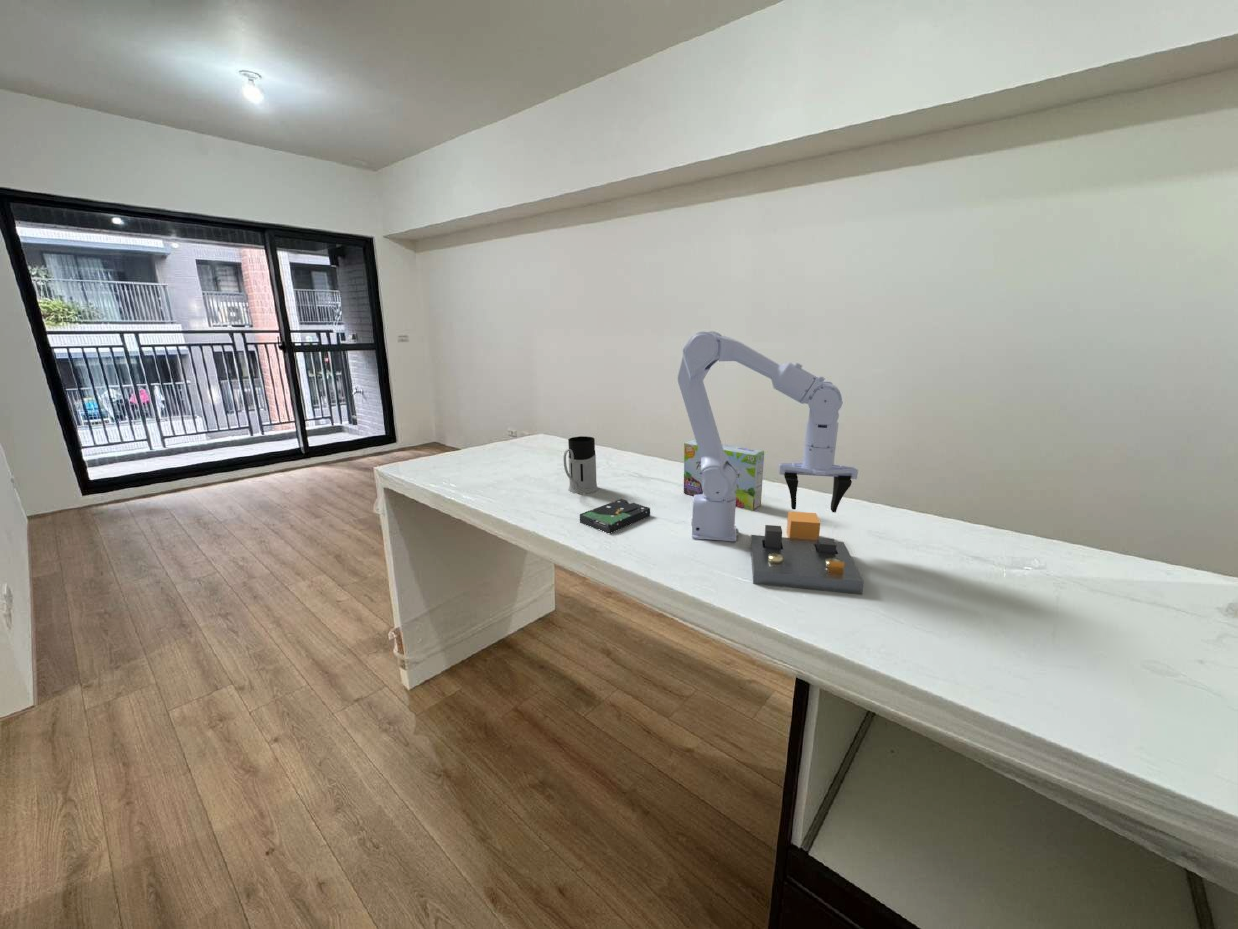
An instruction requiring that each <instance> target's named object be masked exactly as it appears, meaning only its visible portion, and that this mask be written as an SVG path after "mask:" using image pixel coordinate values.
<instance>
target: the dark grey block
mask: <svg viewBox="0 0 1238 929" xmlns="http://www.w3.org/2000/svg"><path fill="white" fill-rule="evenodd" d="M835 541H836V540H835V539H834V538H831V537H830V538H827V537H819V538H817V545H816V551H817V552H820V553H832V554H836V546H837V545H836V543H835Z"/></svg>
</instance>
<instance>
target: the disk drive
mask: <svg viewBox="0 0 1238 929" xmlns="http://www.w3.org/2000/svg"><path fill="white" fill-rule="evenodd" d="M649 517H651V507H648V506H645V505H642V504H640V503H635V502H631V503H630V502H628V500H626V499H623V498H620V499H617V500H614V501H611V502H609V503H606V504H603V505H601V506H598V507H596V508H593V509H590V510H587V511H584V512H582V513H579V523H580V524H583V525H585V524H586V525H585V526H587V525H588V526H587V527H590V526H591V527H590V528H592V527H593V529H595V530H598V529H600V530H602V531H601V532H603V531H604V533H605V532H606V534H608V533H610V534H612V533H614V531H615V532H617V531H619V530H621V529H623V528H626V527H629V526H631V525H633V524H635V523H638V522H640V521H642V520H645V519H647V518H649ZM644 518H645V519H644ZM630 524H631V525H630ZM618 529H619V530H618ZM600 530H599V531H600ZM616 530H617V531H616ZM611 532H612V533H611Z"/></svg>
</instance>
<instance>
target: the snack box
mask: <svg viewBox="0 0 1238 929" xmlns="http://www.w3.org/2000/svg"><path fill="white" fill-rule="evenodd" d="M721 444H722V447H723V450H724V451H725V453H726V454H727V456H728V459H729V461H730V463H731V464H732V465H733V466H734V467H735V469H736V471H737V475H738V477H737V481H736V483H735V484H734V485H733V487H732V488H733V490H734V492H735V493H736V508H740V509H743V508H744V509H745V510H747V511H751V512H753V511H754V510H755V509H757V508H758V507H761V505H762V492H763V476H764V461H765V451H764V450H762V449H761V450H760V449H755V448H750V447H749V448H748V447H743V446H736V445H731V444H726V443H725V444H723V443H721ZM683 447H684V448H683V457H684V458H683V494H684V493H685V494H684V495H689V496H693V497H694V495H699V494H703V491H702V479H703V477H702V472H701V456H700V453H699V449H698V446H697V443H696V439H692V440H689V441H685V442H684V446H683ZM744 509H743V510H744Z"/></svg>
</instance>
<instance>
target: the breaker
mask: <svg viewBox="0 0 1238 929" xmlns="http://www.w3.org/2000/svg"><path fill="white" fill-rule="evenodd" d="M764 527H765V528H764V536H765V537H764V546H765V548H772V549H781V542H782V537H783V529H782V526H781V525H773V524H765V526H764Z"/></svg>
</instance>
